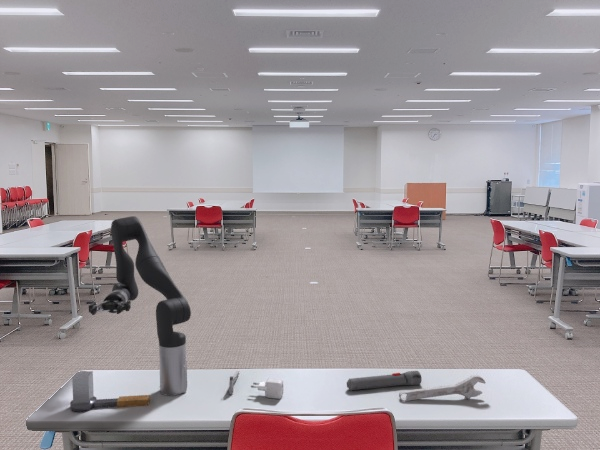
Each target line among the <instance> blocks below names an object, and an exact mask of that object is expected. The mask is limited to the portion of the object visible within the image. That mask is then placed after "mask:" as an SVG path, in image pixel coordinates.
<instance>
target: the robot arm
mask: <svg viewBox="0 0 600 450" xmlns="http://www.w3.org/2000/svg"><path fill="white" fill-rule="evenodd" d="M110 224H111V225H110V230H111V239H112V245H113V251H114V257H115V266H116V269H115V270H116V273H115V274H116V276H115V278H116V281H117V283H115V284H114V285H112V286H113V287H112V288H111V289H112V290H111V292H110V293H109V294H107V296H106V297H104V299H103V301H102V302H97V301H93V302H91V303H90V304H89V305H88V313H89V314H91V315H92V316H95V315H96V314H97V313H104V312H107V313H110V314H117V315H119V314H121V313H123V312H124V311H125V312H130V310H131V308H132V307H131V305H132V304H131V303H132V301H135V300H136V299H137V297H139V296H138V295H139V288H138V285H137V282H136V279H135V268H136V271H137V273H138V274H139V276H140V278H141V280H142V281H143V282H144V283H145V284H146V285H147V286H149V287H150V288H152V289H153V290H156V291H157V292H158V293H160V294H161V295H163V297H165V300H164V299H163V300H160V301H159V302H158V303H157V304H156V307H155V320H156V321H155V322H156V332H157V333H156V334H157V339H158V352H159V353H158V354H159V355H158V356H159V358H158V359H159V392H160V394H162V395H164V396H178V395H181V394H185V393H187V391H188V390H187V388H188V361H187V346H186V345H187V343H186V342H187V340H186V338H187V337H186V334H184V333H183V332H180V331H174V328H173V327H174V326H175V325H181V324H183V323H186V322H188V321H189V320H190V319H191V315H192V311H191V307H190V304H189V302H188V300H187V299H186V297H185V296H184V294H183V293H182V291H180V289H179V288H178V286H177V285H176V284H175V282H174V280H173V279H172V277H171V276H170V274H169V273H168V271H167V269H166V267H165V266H164V263H163V261H162V259H161V258H160V256H159V255H158V253H157V252H156V250H155V248H154V246H153V244H152V243H151V241H150V239H149V236H148V234H147V232H146V230H145V228H144V226H143V223H142V222H141V220H140V219H139V218H138V217H137V216H136V215H135V216H127V217H122V218H117V219H114V220H112V221H111V223H110ZM134 240H135V241H137V244H138V250H137V253H136V257H135V261H134V260H133V258H132V257H131V256H130V254H129V253H127V251H126V250H125V249H124V245H123V243H124V242H129V241H134ZM134 262H135V263H134Z"/></svg>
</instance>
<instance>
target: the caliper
mask: <svg viewBox="0 0 600 450" xmlns="http://www.w3.org/2000/svg"><path fill="white" fill-rule="evenodd" d="M239 372H240V370H236V371H235V373H234V374H233V376H229V384H228V387H229V389H228V390H229V391H228V392H229V395H233V394H234V386H235V384H236V380H237V379H238V378H239V376H238V375H240V373H239Z"/></svg>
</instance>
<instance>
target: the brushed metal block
mask: <svg viewBox="0 0 600 450" xmlns="http://www.w3.org/2000/svg"><path fill="white" fill-rule="evenodd" d="M71 382H72V400H73V405H79V404H90V402H91V401H92V399H93V397H95V396H94V372H93V371H91V370H90V371H77V372H76V373H75V374H74V375H73V376H72V379H71Z"/></svg>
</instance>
